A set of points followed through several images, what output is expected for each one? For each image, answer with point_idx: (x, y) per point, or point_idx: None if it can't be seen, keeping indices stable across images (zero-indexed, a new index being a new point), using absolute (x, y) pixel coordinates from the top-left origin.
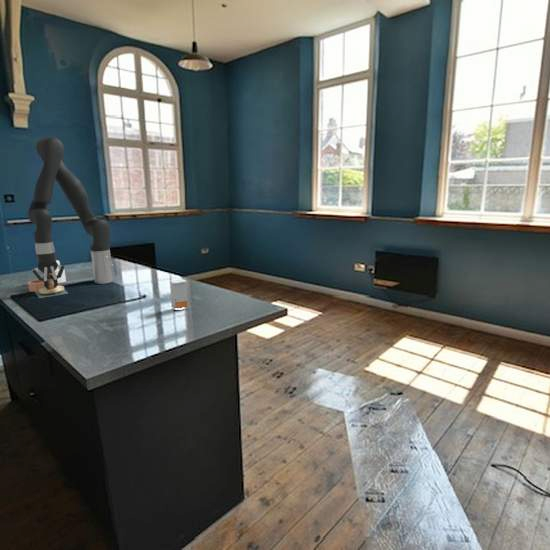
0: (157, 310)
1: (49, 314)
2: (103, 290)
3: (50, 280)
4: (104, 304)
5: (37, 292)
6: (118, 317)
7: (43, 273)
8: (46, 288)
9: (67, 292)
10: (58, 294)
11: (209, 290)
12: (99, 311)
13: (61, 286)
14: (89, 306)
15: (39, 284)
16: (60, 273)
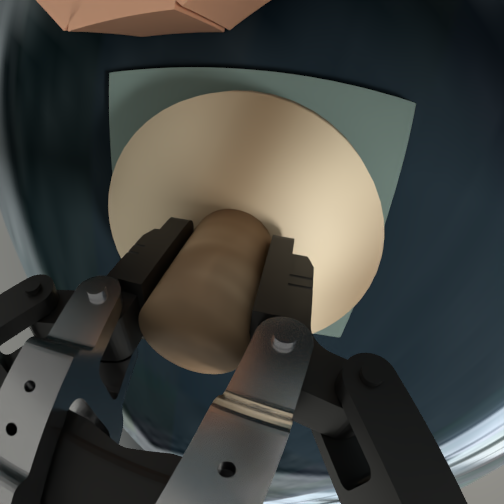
0: None
1: (174, 441)
2: (484, 379)
3: (190, 364)
4: (327, 470)
5: (127, 80)
6: (289, 493)
7: (32, 384)
8: (181, 194)
9: (348, 315)
10: None
11: (498, 464)
12: (284, 479)
13: (358, 252)
14: (288, 464)
15: (114, 25)
16: (351, 475)
